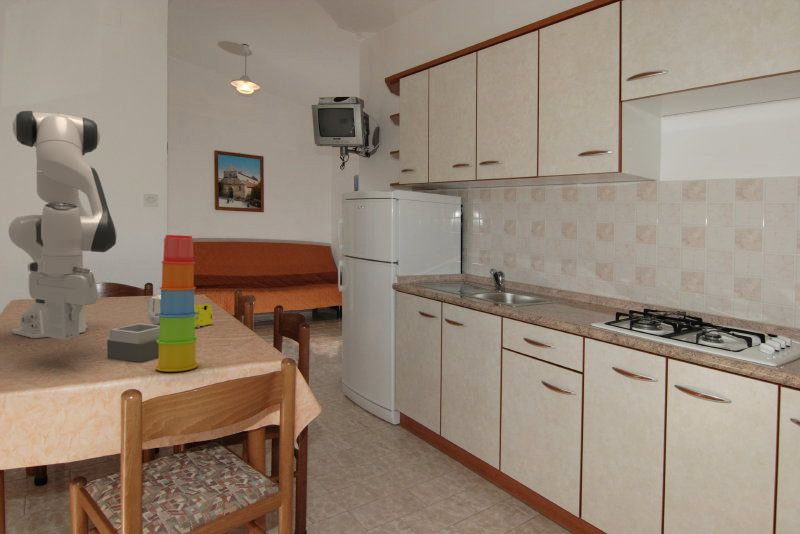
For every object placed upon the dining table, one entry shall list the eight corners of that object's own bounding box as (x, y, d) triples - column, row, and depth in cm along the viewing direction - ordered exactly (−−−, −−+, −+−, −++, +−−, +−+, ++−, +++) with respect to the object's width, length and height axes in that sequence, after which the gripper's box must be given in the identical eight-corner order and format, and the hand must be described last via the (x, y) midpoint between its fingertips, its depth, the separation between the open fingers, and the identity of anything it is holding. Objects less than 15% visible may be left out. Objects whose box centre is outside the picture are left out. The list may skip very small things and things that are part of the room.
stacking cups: (148, 367, 131) (146, 234, 128) (187, 360, 139) (186, 234, 136) (166, 376, 124) (164, 235, 122) (205, 367, 132) (204, 235, 129)
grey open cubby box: (107, 360, 139) (106, 329, 139) (137, 352, 149) (136, 323, 148) (141, 365, 136) (140, 333, 135) (169, 356, 145) (169, 326, 144)
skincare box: (79, 337, 133) (80, 292, 132) (64, 340, 129) (64, 293, 128) (62, 334, 135) (63, 289, 134) (47, 337, 131) (47, 291, 130)
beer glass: (163, 348, 151) (162, 299, 149) (142, 347, 152) (142, 297, 151) (177, 343, 157) (177, 296, 156) (158, 342, 159) (157, 294, 158)
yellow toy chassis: (178, 333, 173) (177, 309, 172) (166, 331, 175) (165, 307, 174) (213, 325, 187) (213, 303, 187) (201, 324, 190) (201, 302, 189)
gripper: (103, 268, 130) (104, 320, 131) (46, 262, 136) (48, 312, 138) (81, 270, 124) (82, 325, 125) (22, 264, 130) (24, 316, 132)
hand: (63, 318), depth 132 cm, fingers closed on skincare box, 6 cm apart
